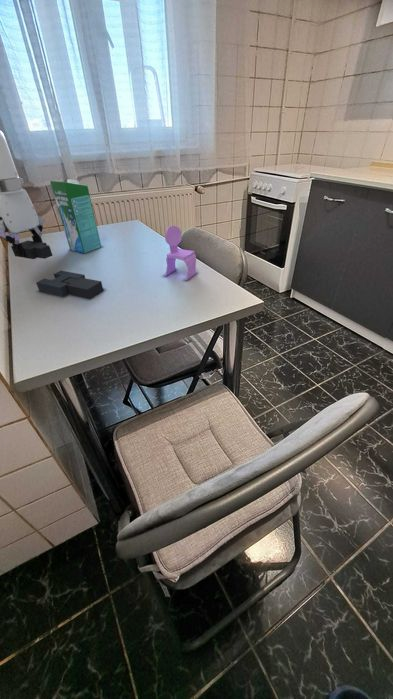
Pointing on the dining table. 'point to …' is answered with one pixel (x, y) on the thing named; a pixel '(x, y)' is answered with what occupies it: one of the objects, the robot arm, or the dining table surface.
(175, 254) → the toy chair
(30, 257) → the pad
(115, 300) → the dining table surface
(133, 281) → the dining table surface
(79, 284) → the pad
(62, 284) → the pad
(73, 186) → the milk carton
